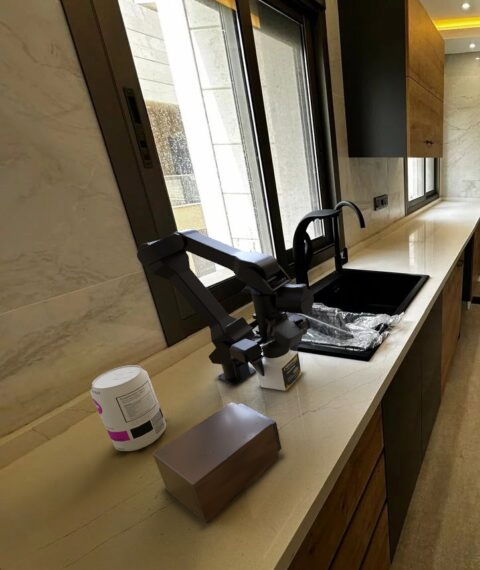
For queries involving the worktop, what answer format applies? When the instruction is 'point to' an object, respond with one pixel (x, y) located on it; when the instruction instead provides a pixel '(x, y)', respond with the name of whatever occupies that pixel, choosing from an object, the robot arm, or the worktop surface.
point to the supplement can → (128, 407)
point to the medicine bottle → (279, 366)
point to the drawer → (267, 420)
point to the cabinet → (217, 459)
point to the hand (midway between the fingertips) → (278, 365)
